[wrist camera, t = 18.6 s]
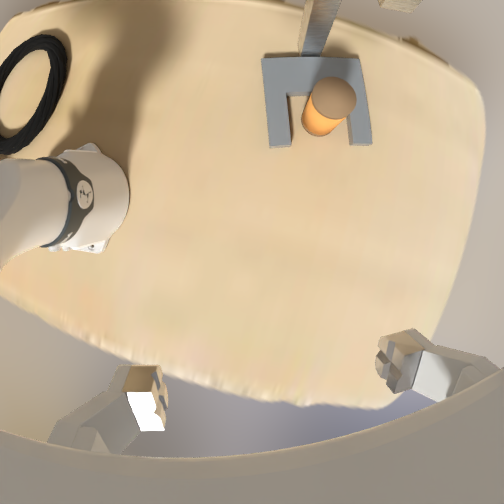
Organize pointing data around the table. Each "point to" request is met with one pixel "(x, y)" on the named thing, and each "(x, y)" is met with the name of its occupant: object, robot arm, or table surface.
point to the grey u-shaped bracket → (302, 84)
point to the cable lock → (50, 94)
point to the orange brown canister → (328, 105)
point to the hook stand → (322, 17)
